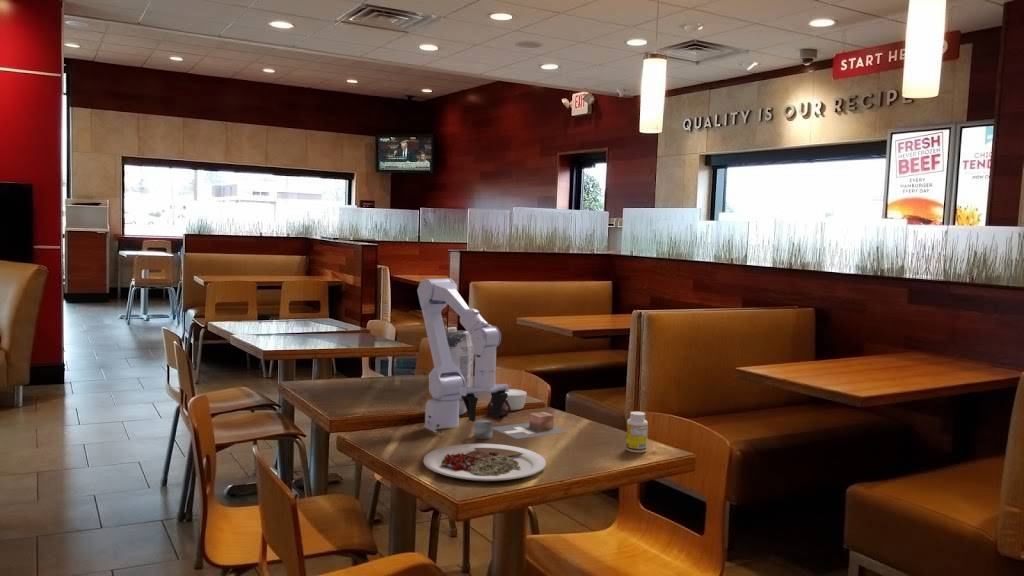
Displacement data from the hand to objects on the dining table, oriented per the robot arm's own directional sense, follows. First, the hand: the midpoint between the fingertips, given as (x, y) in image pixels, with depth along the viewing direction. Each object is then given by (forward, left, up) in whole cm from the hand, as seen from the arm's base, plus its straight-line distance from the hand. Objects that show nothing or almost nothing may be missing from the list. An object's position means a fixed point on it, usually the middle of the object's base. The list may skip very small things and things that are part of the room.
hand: (483, 419), depth 217 cm
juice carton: (+10, +34, -6) cm, 36 cm away
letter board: (+16, +1, -6) cm, 17 cm away
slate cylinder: (0, 0, -6) cm, 6 cm away
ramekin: (+29, +32, -6) cm, 44 cm away
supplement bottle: (+32, -27, -6) cm, 42 cm away
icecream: (+18, +21, -6) cm, 28 cm away
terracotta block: (+20, +1, -5) cm, 21 cm away
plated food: (-12, -21, -6) cm, 25 cm away
